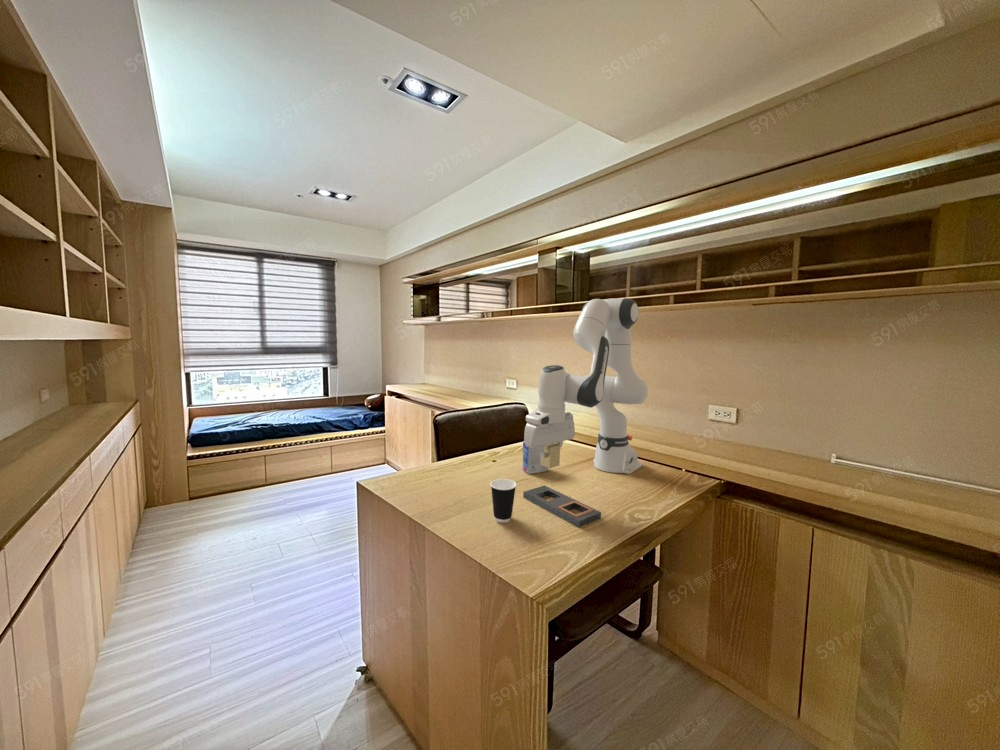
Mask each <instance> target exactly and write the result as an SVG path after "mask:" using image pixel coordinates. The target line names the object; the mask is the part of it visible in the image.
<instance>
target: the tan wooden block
mask: <svg viewBox="0 0 1000 750" xmlns="http://www.w3.org/2000/svg"><path fill="white" fill-rule="evenodd" d="M544 451H545V452H547V457H546V458H541V457H540V465H543V466H545V467H548V469H552V468H556V467H559V466H560V461H561V460H560V457H561V449H560V445H558V444H556V443H553V444H548V445H545V448H544Z"/></svg>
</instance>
